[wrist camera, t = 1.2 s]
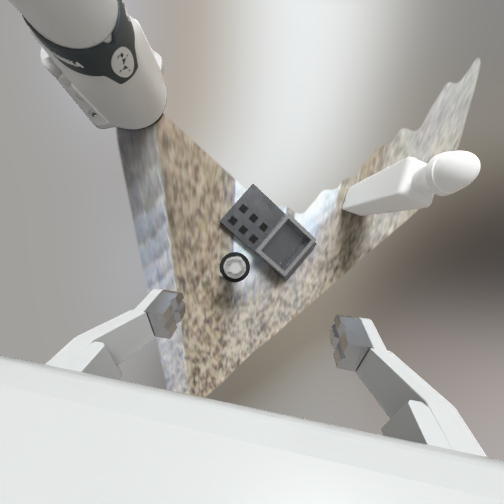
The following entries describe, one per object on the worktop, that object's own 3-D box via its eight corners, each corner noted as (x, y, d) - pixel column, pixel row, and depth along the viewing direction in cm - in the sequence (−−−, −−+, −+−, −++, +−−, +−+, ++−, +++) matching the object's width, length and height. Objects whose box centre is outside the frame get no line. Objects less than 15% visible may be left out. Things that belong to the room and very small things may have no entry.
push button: (228, 282, 42) (229, 295, 32) (212, 265, 41) (207, 273, 31) (249, 261, 42) (256, 268, 32) (233, 245, 41) (235, 246, 32)
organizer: (219, 221, 41) (219, 220, 37) (252, 185, 41) (254, 179, 38) (284, 278, 44) (290, 282, 40) (314, 243, 44) (322, 244, 40)
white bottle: (362, 218, 45) (487, 198, 24) (339, 210, 44) (447, 180, 23) (370, 193, 45) (502, 149, 24) (347, 184, 44) (463, 129, 23)
